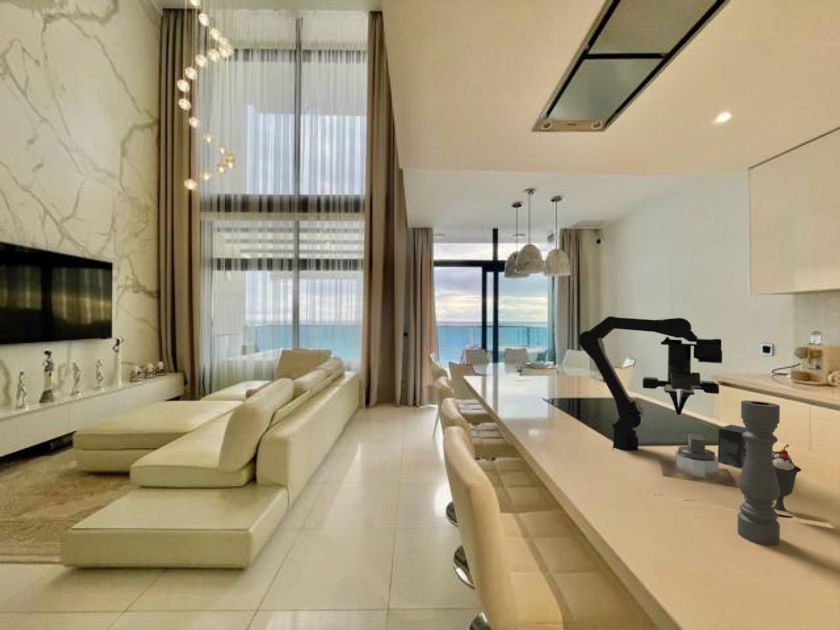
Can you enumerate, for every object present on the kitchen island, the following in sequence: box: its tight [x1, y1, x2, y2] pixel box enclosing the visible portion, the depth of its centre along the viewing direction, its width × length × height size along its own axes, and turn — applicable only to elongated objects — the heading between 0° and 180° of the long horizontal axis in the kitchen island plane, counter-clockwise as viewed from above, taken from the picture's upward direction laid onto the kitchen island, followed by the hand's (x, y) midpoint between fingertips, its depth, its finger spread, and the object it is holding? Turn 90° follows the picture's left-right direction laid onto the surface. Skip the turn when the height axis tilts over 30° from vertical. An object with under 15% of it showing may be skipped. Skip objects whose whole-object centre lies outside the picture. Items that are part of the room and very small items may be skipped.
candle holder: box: [737, 400, 781, 547], centre depth 81 cm, size 6×6×25 cm
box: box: [717, 424, 747, 469], centre depth 121 cm, size 8×6×11 cm
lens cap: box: [677, 433, 716, 460], centre depth 112 cm, size 8×8×8 cm
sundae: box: [772, 443, 802, 519], centre depth 91 cm, size 7×7×15 cm
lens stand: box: [659, 459, 740, 489], centre depth 112 cm, size 16×14×1 cm
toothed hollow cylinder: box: [674, 450, 720, 479], centre depth 112 cm, size 9×9×4 cm
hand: (678, 414), depth 125 cm, fingers closed
